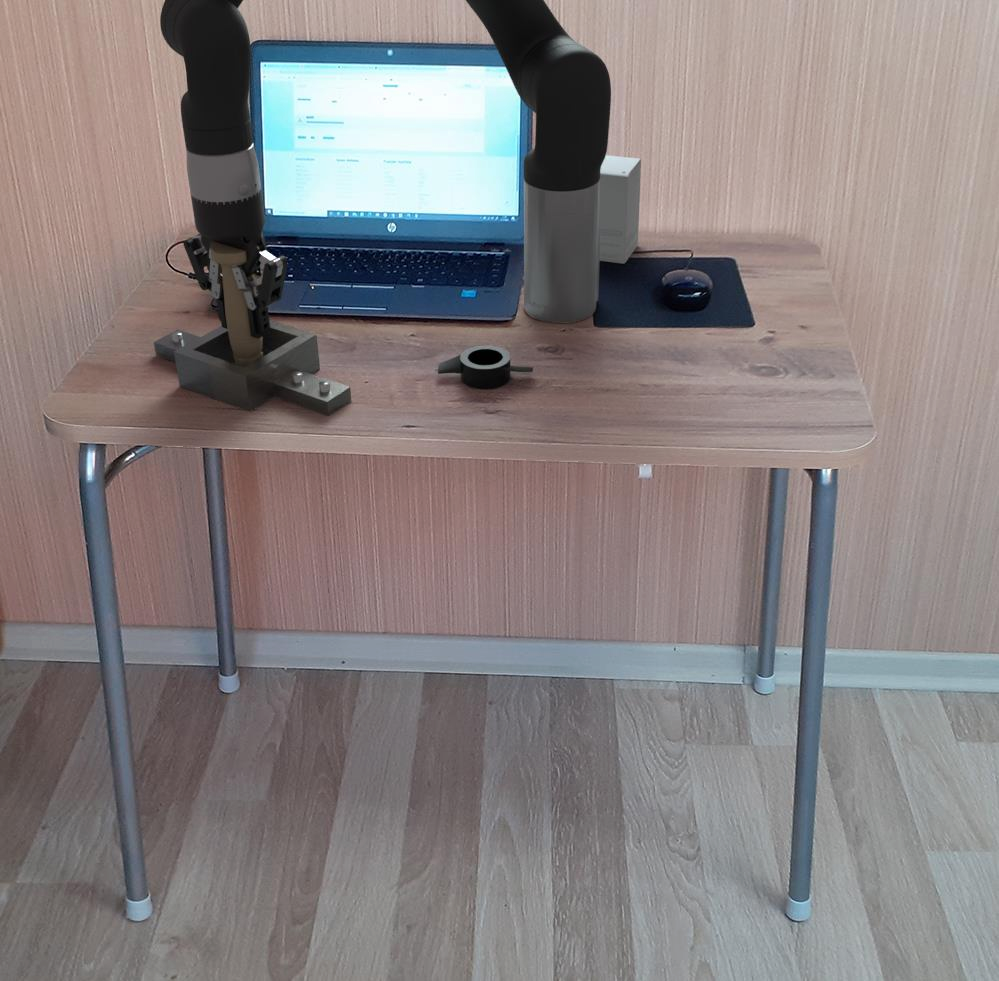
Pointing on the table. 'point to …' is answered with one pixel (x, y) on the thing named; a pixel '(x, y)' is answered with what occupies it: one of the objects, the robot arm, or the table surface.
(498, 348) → the dark grey winged ring
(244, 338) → the handle
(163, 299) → the table surface
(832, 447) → the table surface
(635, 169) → the supplement box
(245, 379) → the bracket
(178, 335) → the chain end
